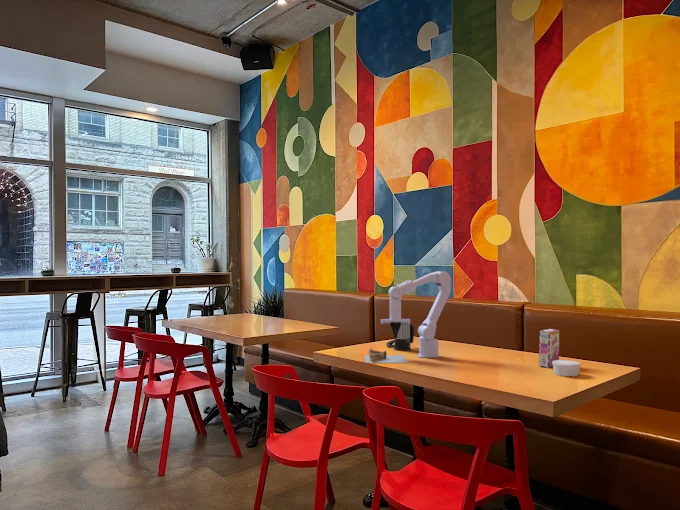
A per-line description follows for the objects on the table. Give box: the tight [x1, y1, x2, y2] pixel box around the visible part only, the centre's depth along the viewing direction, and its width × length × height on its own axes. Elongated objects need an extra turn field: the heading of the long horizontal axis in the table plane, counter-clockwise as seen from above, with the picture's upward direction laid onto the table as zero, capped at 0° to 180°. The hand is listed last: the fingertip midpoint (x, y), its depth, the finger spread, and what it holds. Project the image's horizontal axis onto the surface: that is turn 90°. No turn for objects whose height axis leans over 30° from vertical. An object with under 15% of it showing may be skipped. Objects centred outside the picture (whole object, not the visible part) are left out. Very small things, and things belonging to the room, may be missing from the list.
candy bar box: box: [538, 328, 560, 369], centre depth 238 cm, size 11×5×16 cm, turn 134°
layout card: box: [363, 354, 408, 364], centre depth 255 cm, size 20×19×1 cm
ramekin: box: [552, 359, 581, 377], centre depth 220 cm, size 11×11×5 cm
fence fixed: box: [368, 348, 387, 359], centre depth 259 cm, size 2×11×4 cm, turn 45°
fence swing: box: [370, 353, 384, 361], centre depth 251 cm, size 9×2×3 cm, turn 133°
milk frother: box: [385, 322, 415, 352], centre depth 286 cm, size 14×16×15 cm
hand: (395, 337), depth 259 cm, fingers closed
